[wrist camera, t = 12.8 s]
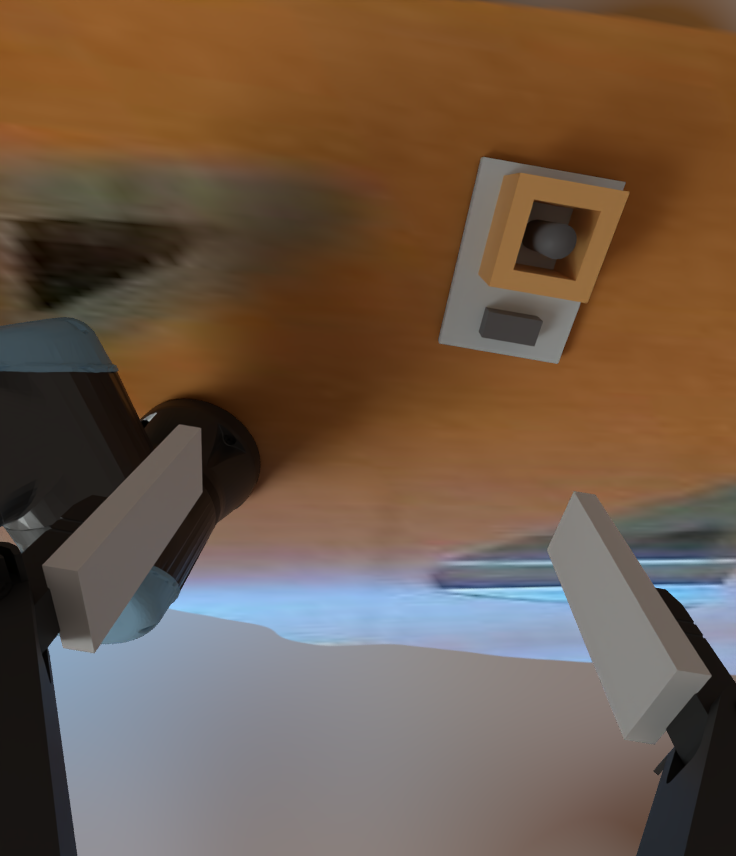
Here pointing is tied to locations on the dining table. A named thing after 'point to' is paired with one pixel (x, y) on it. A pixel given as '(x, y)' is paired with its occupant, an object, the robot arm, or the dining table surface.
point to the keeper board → (541, 246)
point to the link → (589, 220)
